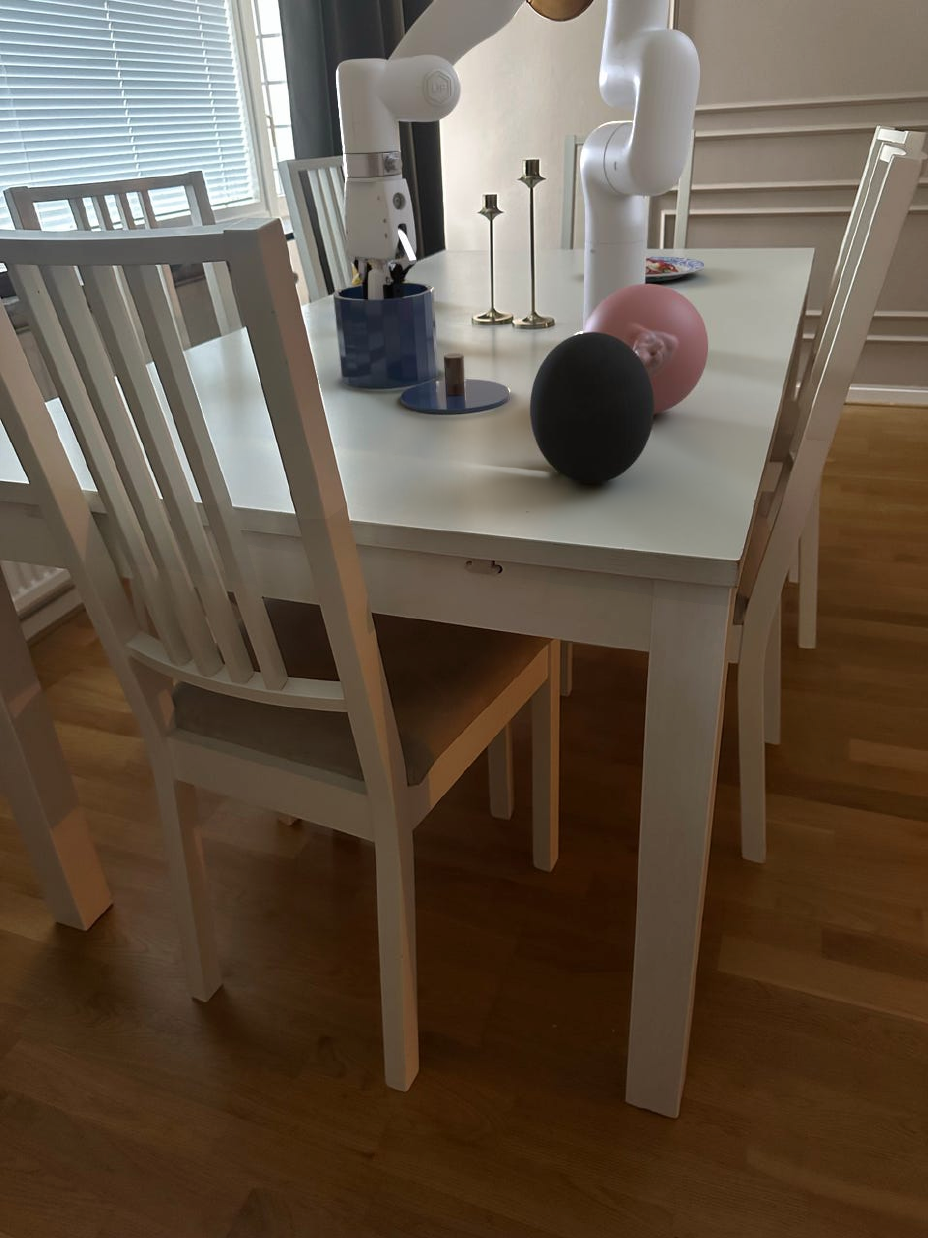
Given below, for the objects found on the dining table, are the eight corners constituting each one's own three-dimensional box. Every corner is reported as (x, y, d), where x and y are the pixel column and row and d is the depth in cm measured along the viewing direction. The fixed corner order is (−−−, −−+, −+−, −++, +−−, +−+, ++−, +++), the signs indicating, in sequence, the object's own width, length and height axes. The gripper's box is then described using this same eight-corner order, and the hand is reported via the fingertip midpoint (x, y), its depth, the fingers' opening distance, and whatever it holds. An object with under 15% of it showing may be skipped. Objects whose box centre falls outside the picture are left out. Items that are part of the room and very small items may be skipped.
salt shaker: (362, 331, 134) (355, 250, 129) (398, 327, 136) (392, 247, 130) (373, 339, 130) (365, 255, 124) (409, 334, 131) (404, 251, 126)
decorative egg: (635, 507, 90) (643, 351, 82) (514, 495, 94) (512, 344, 87) (660, 465, 100) (669, 322, 92) (550, 455, 104) (550, 317, 96)
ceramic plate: (567, 273, 212) (567, 259, 210) (668, 262, 218) (669, 249, 216) (616, 290, 190) (617, 275, 188) (727, 278, 196) (729, 263, 195)
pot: (453, 370, 139) (449, 283, 133) (410, 395, 128) (403, 301, 122) (372, 364, 144) (365, 280, 138) (324, 388, 133) (313, 297, 127)
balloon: (564, 442, 108) (565, 305, 100) (586, 394, 124) (588, 274, 117) (700, 446, 104) (712, 305, 97) (704, 397, 121) (714, 273, 113)
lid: (526, 392, 127) (526, 346, 124) (483, 423, 115) (481, 373, 112) (431, 384, 133) (429, 340, 130) (381, 413, 121) (377, 365, 118)
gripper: (436, 166, 119) (444, 313, 128) (355, 165, 130) (367, 301, 139) (393, 170, 115) (403, 322, 124) (312, 169, 125) (327, 309, 134)
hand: (384, 309), depth 131 cm, fingers closed on salt shaker, 3 cm apart
